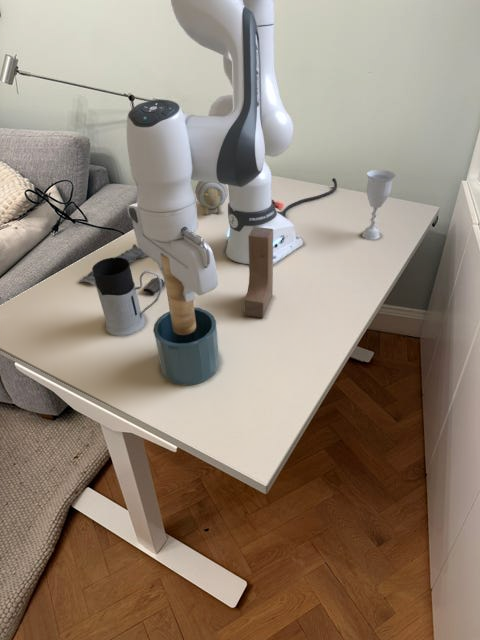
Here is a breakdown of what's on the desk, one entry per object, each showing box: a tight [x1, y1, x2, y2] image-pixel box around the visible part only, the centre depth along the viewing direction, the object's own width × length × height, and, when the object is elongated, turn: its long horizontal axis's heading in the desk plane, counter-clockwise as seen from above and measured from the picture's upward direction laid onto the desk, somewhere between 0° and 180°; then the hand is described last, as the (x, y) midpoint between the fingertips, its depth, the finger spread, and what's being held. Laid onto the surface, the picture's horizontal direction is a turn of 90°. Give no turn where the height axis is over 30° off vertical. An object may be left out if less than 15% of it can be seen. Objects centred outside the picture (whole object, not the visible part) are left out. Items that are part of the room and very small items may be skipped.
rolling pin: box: [160, 253, 196, 335], centre depth 76 cm, size 4×4×16 cm
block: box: [142, 276, 166, 295], centre depth 109 cm, size 4×6×2 cm, turn 163°
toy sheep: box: [194, 181, 229, 215], centre depth 142 cm, size 11×17×11 cm, turn 10°
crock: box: [152, 306, 220, 386], centre depth 84 cm, size 12×12×10 cm
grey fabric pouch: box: [79, 243, 148, 285], centre depth 118 cm, size 21×7×2 cm, turn 144°
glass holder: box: [91, 256, 163, 337], centre depth 94 cm, size 9×14×15 cm, turn 88°
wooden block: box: [243, 227, 274, 319], centre depth 96 cm, size 9×4×18 cm, turn 163°
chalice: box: [361, 169, 396, 241], centre depth 121 cm, size 7×7×18 cm
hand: (179, 291), depth 76 cm, fingers closed on rolling pin, 4 cm apart
